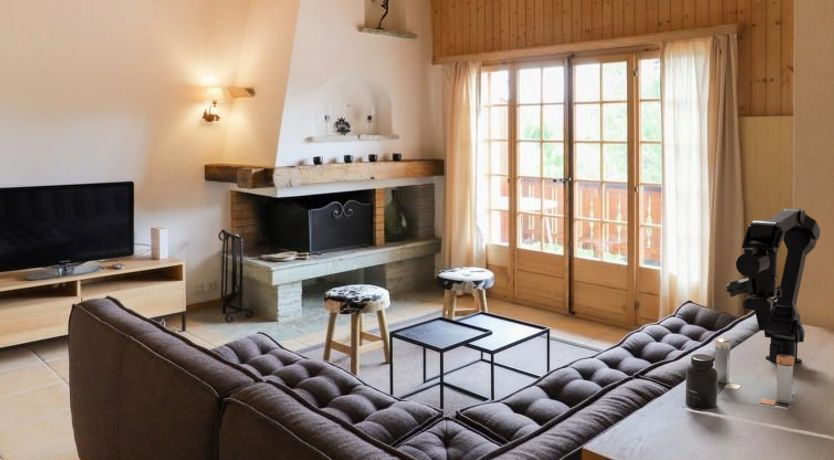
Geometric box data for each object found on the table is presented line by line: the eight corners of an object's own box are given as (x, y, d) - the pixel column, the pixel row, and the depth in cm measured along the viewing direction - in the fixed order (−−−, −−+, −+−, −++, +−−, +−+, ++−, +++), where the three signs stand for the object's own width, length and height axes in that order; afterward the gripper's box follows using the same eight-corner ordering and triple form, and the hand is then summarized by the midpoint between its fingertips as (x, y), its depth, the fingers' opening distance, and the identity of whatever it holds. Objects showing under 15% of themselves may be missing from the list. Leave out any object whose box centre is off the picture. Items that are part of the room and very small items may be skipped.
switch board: (722, 375, 184) (722, 372, 183) (800, 387, 173) (800, 384, 173) (703, 397, 169) (703, 394, 169) (787, 413, 159) (787, 409, 159)
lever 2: (776, 396, 166) (778, 353, 164) (794, 399, 164) (795, 355, 162) (774, 401, 163) (775, 357, 161) (791, 404, 161) (793, 360, 159)
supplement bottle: (683, 409, 163) (684, 359, 161) (687, 399, 169) (688, 350, 167) (715, 414, 160) (716, 363, 158) (718, 403, 166) (719, 354, 164)
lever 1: (716, 377, 180) (717, 337, 178) (731, 380, 177) (732, 339, 176) (712, 382, 177) (713, 341, 175) (727, 384, 175) (728, 343, 173)
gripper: (737, 261, 190) (735, 317, 193) (721, 274, 175) (720, 334, 178) (783, 264, 184) (781, 322, 186) (771, 278, 169) (768, 341, 171)
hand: (761, 330), depth 180 cm, fingers closed
